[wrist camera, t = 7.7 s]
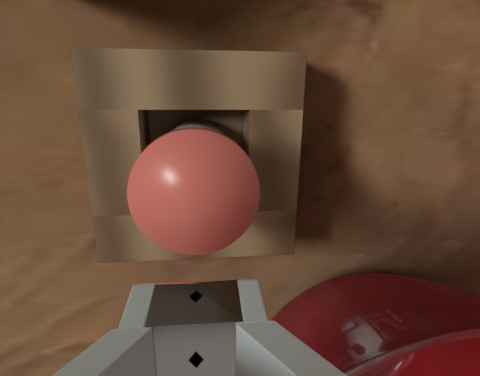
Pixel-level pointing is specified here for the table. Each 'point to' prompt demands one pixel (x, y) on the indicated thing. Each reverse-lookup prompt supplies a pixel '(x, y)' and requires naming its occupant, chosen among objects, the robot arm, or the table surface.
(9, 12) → the table surface
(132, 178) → the call button plunger
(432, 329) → the mixing bowl
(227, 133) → the base
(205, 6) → the table surface
